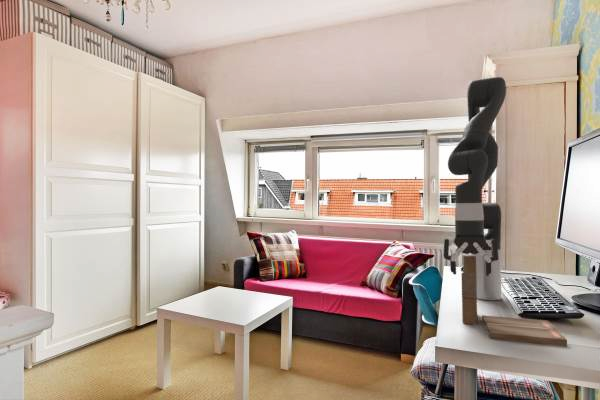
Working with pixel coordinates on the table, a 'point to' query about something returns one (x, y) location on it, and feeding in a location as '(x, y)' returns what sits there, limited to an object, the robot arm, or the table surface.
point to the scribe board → (523, 330)
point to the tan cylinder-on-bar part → (469, 290)
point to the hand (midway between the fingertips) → (470, 274)
